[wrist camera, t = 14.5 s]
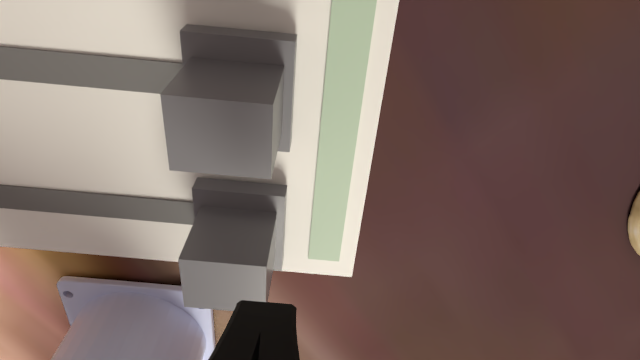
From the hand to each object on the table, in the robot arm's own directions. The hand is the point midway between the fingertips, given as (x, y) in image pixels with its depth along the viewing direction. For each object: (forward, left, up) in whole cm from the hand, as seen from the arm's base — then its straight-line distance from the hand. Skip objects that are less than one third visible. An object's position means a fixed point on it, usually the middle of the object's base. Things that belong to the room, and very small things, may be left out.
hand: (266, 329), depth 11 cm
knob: (-3, +2, -8) cm, 9 cm away
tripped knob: (+3, +2, -8) cm, 8 cm away
